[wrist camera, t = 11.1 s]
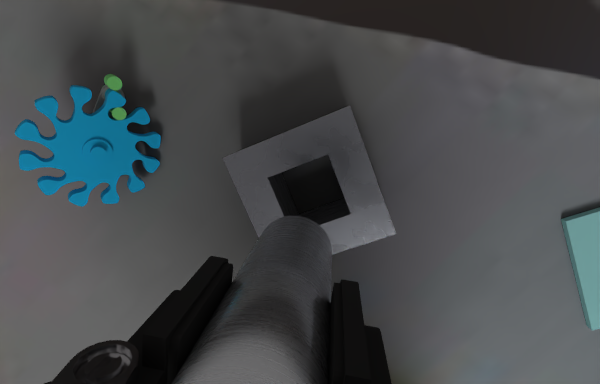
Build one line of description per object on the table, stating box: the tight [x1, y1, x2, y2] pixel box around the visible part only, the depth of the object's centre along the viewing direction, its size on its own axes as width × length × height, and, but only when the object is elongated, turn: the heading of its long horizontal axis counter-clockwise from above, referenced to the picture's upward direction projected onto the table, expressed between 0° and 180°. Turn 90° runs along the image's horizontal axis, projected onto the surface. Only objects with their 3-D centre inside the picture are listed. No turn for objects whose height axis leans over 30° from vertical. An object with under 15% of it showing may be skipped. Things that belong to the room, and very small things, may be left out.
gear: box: [15, 74, 161, 206], centre depth 27 cm, size 11×6×10 cm
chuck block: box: [223, 106, 396, 255], centre depth 26 cm, size 10×10×5 cm
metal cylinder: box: [172, 216, 332, 384], centre depth 9 cm, size 3×3×12 cm
